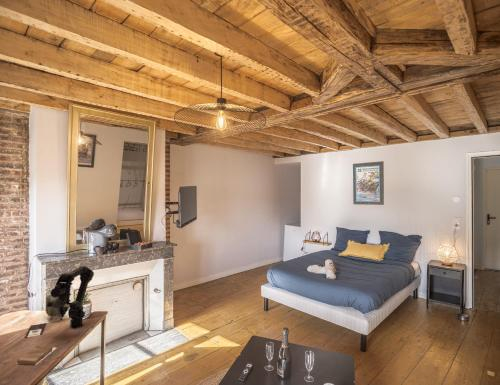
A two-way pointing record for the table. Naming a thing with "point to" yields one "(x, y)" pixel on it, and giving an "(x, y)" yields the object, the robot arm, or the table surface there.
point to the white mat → (46, 355)
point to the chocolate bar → (35, 330)
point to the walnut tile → (34, 355)
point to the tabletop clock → (51, 310)
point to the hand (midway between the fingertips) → (62, 317)
